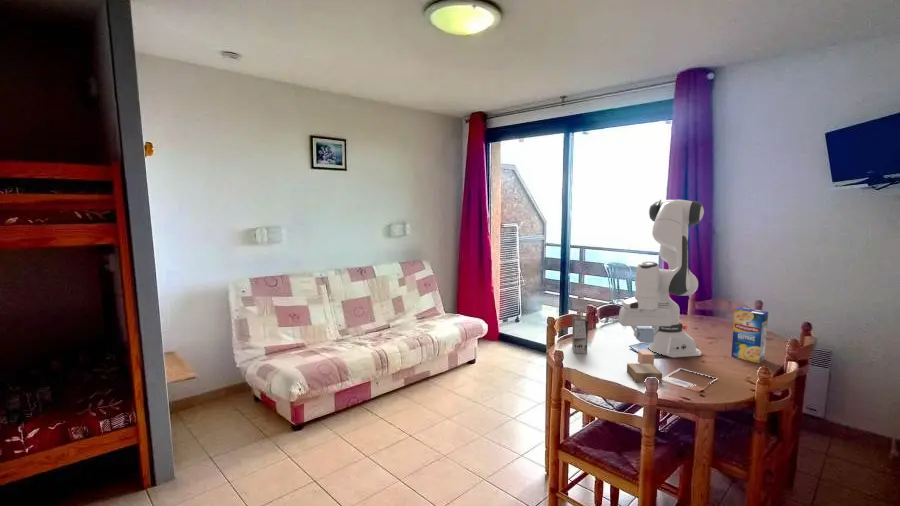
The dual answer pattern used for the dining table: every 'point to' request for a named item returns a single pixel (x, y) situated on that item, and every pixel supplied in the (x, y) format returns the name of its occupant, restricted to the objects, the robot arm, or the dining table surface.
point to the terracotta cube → (645, 357)
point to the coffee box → (580, 334)
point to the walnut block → (643, 372)
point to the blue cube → (645, 334)
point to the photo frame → (680, 382)
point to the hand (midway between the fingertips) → (644, 336)
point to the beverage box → (749, 334)
